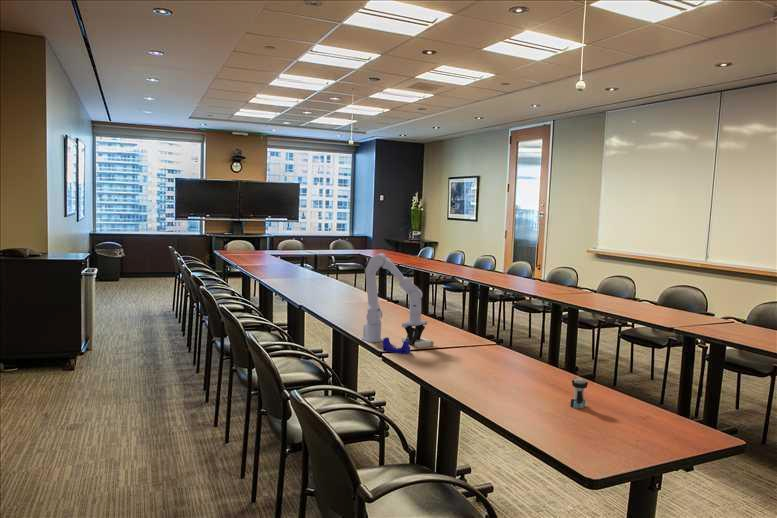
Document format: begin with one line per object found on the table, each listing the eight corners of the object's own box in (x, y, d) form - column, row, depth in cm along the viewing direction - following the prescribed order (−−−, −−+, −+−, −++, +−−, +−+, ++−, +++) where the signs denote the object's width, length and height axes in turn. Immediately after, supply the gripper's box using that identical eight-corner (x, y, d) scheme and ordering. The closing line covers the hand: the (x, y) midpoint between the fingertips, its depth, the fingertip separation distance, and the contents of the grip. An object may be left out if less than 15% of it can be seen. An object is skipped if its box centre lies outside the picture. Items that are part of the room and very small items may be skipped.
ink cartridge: (404, 341, 274) (409, 326, 276) (407, 343, 276) (412, 328, 277) (411, 343, 271) (416, 328, 272) (414, 345, 272) (419, 329, 274)
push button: (581, 403, 197) (583, 376, 196) (592, 408, 192) (594, 380, 191) (566, 405, 195) (568, 377, 194) (577, 410, 190) (579, 382, 189)
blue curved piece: (409, 352, 258) (410, 340, 258) (405, 354, 254) (406, 342, 254) (387, 349, 264) (387, 336, 263) (382, 351, 260) (383, 338, 259)
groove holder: (402, 341, 279) (402, 337, 279) (416, 339, 284) (416, 335, 284) (418, 347, 267) (419, 343, 267) (433, 345, 272) (433, 341, 272)
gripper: (408, 316, 265) (407, 343, 267) (431, 313, 274) (430, 340, 275) (399, 313, 271) (398, 340, 273) (423, 311, 279) (421, 337, 281)
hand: (414, 340), depth 274 cm, fingers closed on ink cartridge, 4 cm apart
